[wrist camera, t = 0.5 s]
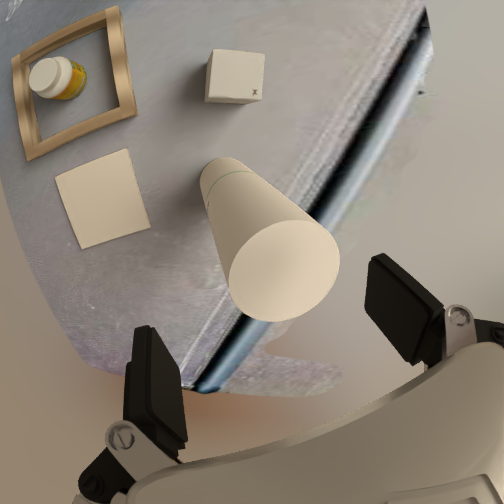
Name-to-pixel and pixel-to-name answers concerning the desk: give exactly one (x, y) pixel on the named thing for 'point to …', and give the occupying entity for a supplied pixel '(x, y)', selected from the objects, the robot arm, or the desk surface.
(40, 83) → the supplement bottle
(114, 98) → the desk surface
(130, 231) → the pad
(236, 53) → the product box
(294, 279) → the cylindrical container
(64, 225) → the desk surface
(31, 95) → the wooden square frame
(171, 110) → the desk surface
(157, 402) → the robot arm
